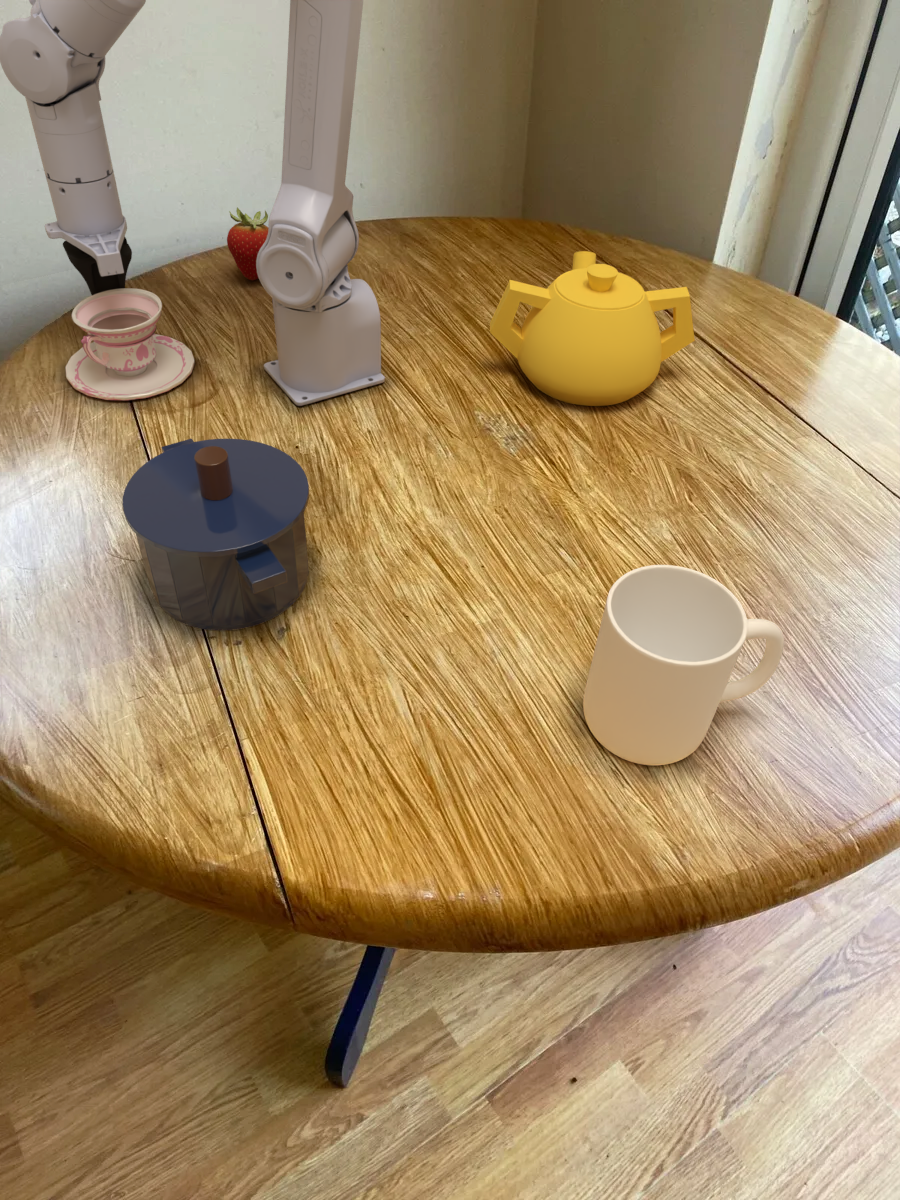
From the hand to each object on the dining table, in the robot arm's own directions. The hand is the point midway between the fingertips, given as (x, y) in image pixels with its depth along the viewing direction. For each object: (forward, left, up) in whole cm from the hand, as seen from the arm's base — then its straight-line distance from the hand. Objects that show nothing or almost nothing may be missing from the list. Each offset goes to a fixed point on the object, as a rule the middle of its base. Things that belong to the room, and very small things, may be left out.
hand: (112, 314), depth 90 cm
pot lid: (+3, +37, +5) cm, 38 cm away
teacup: (+1, +6, -3) cm, 6 cm away
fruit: (-18, -7, -3) cm, 19 cm away
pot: (+3, +37, -3) cm, 38 cm away
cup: (-17, +64, -3) cm, 67 cm away
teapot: (-40, +25, -3) cm, 47 cm away
